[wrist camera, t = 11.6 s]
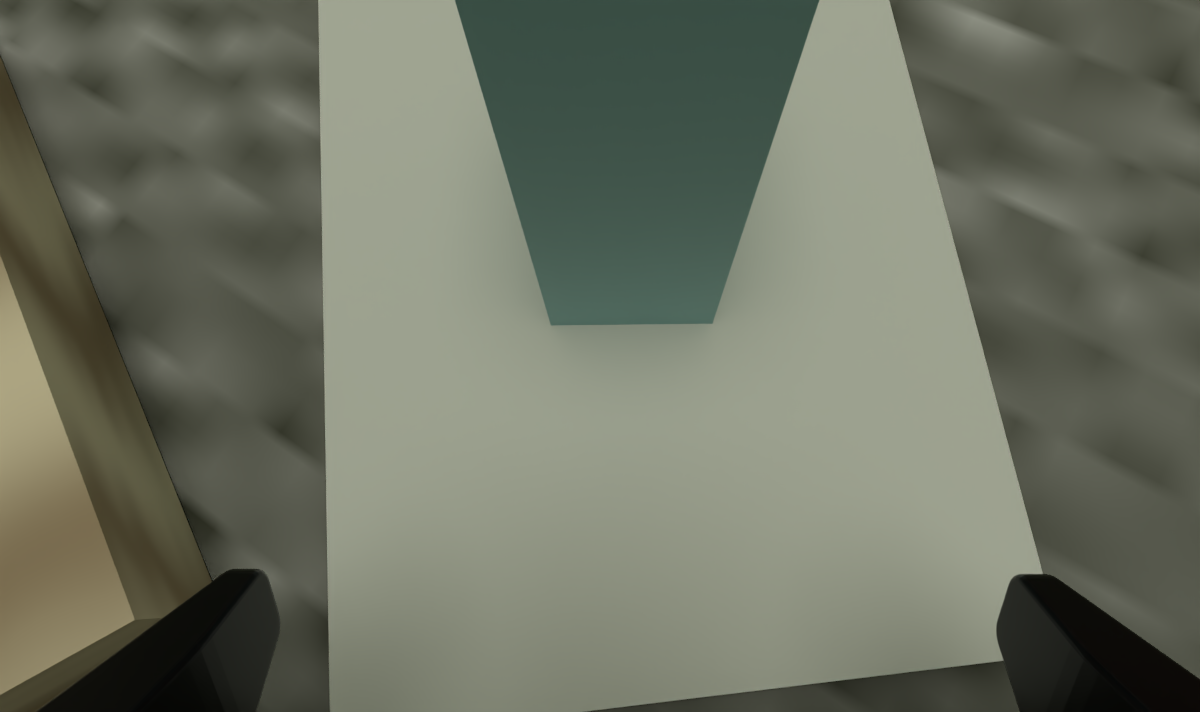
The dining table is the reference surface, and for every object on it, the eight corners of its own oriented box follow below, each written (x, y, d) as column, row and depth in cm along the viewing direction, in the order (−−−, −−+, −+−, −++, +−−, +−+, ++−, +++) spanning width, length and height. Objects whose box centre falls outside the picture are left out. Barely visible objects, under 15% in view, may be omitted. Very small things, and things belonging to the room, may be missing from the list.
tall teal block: (712, 323, 17) (827, -23, 7) (550, 325, 17) (450, -13, 7) (703, 121, 18) (789, -396, 9) (554, 123, 18) (474, -383, 9)
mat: (1053, 651, 15) (1063, 653, 15) (337, 738, 15) (330, 742, 15) (842, -142, 21) (847, -156, 20) (322, -80, 21) (316, -92, 20)
